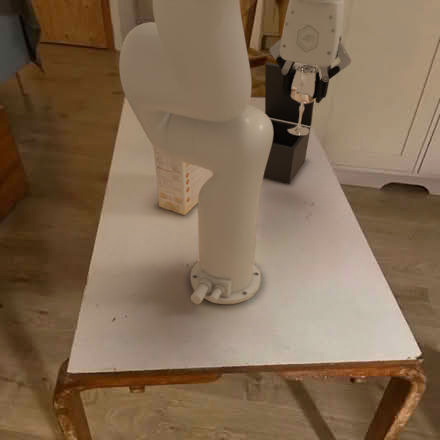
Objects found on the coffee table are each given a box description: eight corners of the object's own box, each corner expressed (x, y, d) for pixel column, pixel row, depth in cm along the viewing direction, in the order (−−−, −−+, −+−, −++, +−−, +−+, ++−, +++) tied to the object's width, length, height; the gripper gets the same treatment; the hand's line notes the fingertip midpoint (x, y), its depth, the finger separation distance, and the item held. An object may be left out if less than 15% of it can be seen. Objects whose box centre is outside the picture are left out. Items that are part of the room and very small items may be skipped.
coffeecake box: (192, 176, 106) (190, 92, 93) (218, 184, 104) (220, 99, 90) (157, 206, 97) (149, 118, 83) (185, 216, 94) (181, 127, 81)
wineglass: (311, 138, 89) (322, 75, 81) (282, 135, 90) (290, 72, 82) (313, 126, 93) (323, 65, 85) (286, 123, 94) (293, 62, 86)
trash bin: (289, 184, 105) (294, 149, 98) (243, 172, 108) (245, 138, 102) (305, 160, 113) (310, 127, 107) (262, 150, 116) (265, 117, 110)
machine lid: (316, 73, 95) (323, 59, 98) (265, 64, 98) (273, 51, 101) (310, 126, 106) (317, 113, 109) (265, 116, 110) (272, 104, 112)
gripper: (263, -14, 74) (255, 95, 87) (365, -2, 69) (341, 113, 82) (278, -22, 79) (269, 83, 92) (375, -11, 74) (351, 99, 87)
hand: (303, 96), depth 87 cm, fingers closed on wineglass, 5 cm apart
